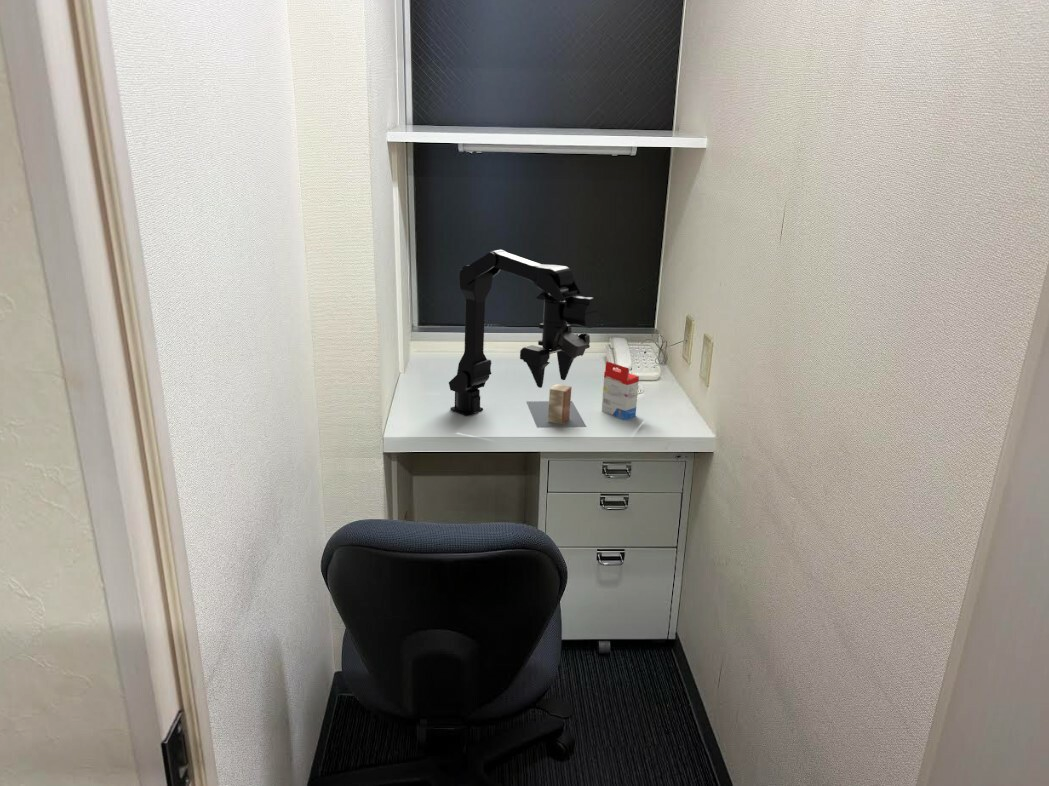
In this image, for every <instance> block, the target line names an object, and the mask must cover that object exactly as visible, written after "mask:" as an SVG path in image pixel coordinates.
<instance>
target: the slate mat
mask: <svg viewBox="0 0 1049 786" xmlns="http://www.w3.org/2000/svg"><path fill="white" fill-rule="evenodd" d="M526 405H527V407H528V409H529V411H530V414H531V416H532V418H533V421H534V423H535V425H536V428H538V429H539V428H540V429H541V428H587V425H586V423H585V421H584V420H583V418H582V416H581V414H580V412H579V410H578V409H577V408H576V405H575V404H574V402H573V400H571V402H570V416H569V420H568V421H567V422H565V423H564V424H560V423H554V422H549V421H548V410H549V400H544V401H543V400H542V401H541V400H539V401H538V400H537V401H536V400H534V401H533V400H530V401H528V400H527V401H526Z"/></svg>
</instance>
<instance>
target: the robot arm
mask: <svg viewBox="0 0 1049 786" xmlns="http://www.w3.org/2000/svg"><path fill="white" fill-rule="evenodd" d="M500 271H503V272H506V273H508V274H512V275H515V276H517V277H520V278H523V279H526V280H528V281H530V282H532V283H533V284H534V286H536V287H537V288H538V289H539V290H541V292H540V293H539V294H538V295H537V296H536V300H539V301H543V316H542V317H543V318H542V323H539V324H538V328H539V329H541V330H542V333H541V334H542V335H541V340H538V341H537V344H538V346H537V345H533V344H532V345H528V346H524V347H522V348H521V349H520V351H519V359H520V360H522V361H523V362H524V363H526V365H527V366H528V368H529V370H530V373H531V374H532V377H533V380H534V381H535V384H536V387H538V388H541V389H542V388H543V385H544V379H545V378H544V377H545V370H546V369H545V368H546V367H547V366H549V364H550V361H549V360H550V356H551V355H552V354H555V353H556V356H557V364H558V372H559V376H560V380H562V381H565V380H566V379H567V376H568V375H569V372H570V369H571V367H572V363H573V362H574V360H575V359H576V358H578V357H580V356H581V357H583V356H584V354H585V352H586V349H590V347H591V345H590V343H591V339H590V334H588V333H587V332H583V333H580V334H578V333H575V334H574V332H572V327H571V326H572V325H574V326H578V327H583V328H588V329H593V327H595V325H596V324H597V321H598V320H599V309H598V305H597V304H596V303H595V297H591V296H587V297H586V296H583V293H582V291H581V289H580V288H579V286H578V283H577V282H576V280H575V278H574V274H573V272H572V269H571V268H569V267H568V266H566V265H558V264H544V263H542V264H541V263H540V262H536V261H533V260H530V259H527V258H524V257H521V256H519V255H516V254H513V253H509V252H507V251H505V250H503V249H496V250H490V251H489V252H487V253H486V254H485V255H483V256H482V257H481V258H479V259H476V260H475V261H473V262H472V263H470V264H468V265H467V264H466V265H464V266H463V267H462V268H460V269H459V273H458V280H459V289H460V291H461V293H462V295H463V297H464V298H465V310H464V312H465V313H464V315H465V317H464V320H465V321H464V351H463V354H462V356H461V358H460V360H459V362H458V366H457V372H456V375H454V377H453V378H452V379H451V380H450V381H448V385H449V389H450V391H452V392H454V406H452V407H451V406H450V408H449V409H450V411H453V412H456V413H458V414H461V415H464V416H471V415H474V414H476V413H479V412H482V411H484V408H483V407H481V395H480V392H481V390H480V388H484V387H485V385H486V382H487V381H488V380H489V378H490V375H492V370H491V367H492V360H491V359H488V358H487V356H486V355H485V353H484V348H485V347H484V345H485V343H484V342H485V341H484V340H485V316H486V315H485V314H486V310H485V309H486V298H487V296H489V295H488V294H489V293H490V291H491V288H492V285H493V279H494V277H495V276H496V275H498V274H499V273H501V272H500ZM541 346H542V347H541Z"/></svg>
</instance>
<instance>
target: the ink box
mask: <svg viewBox="0 0 1049 786" xmlns="http://www.w3.org/2000/svg"><path fill="white" fill-rule="evenodd" d="M604 369H605V370H604V372H603V373H604V374H603V387H602V403H601V412H602V413H605V414H608V415H611V416H614V417H616V418H618V419H621V420H624V421H625V420H628V419H631V418H634V417H636V415H637V403H638V391H639V379H640V376H639V375H635V374H632V373H630V368H629V367H626V366H622V365H619V364H617V363H613V362H611V361H606V362H605V368H604Z"/></svg>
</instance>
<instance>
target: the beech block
mask: <svg viewBox="0 0 1049 786" xmlns="http://www.w3.org/2000/svg"><path fill="white" fill-rule="evenodd" d="M548 396H549V397H548V401H549V410H548V421H549V422H554V423H560V424H564V423H565V422H567V421H568V420H569V416H570V402H571V401H572V400H571V399H572V386H570V385H564V384H558V383H556V384H554V385H553V386H551V387H550V388H549V395H548Z"/></svg>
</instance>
